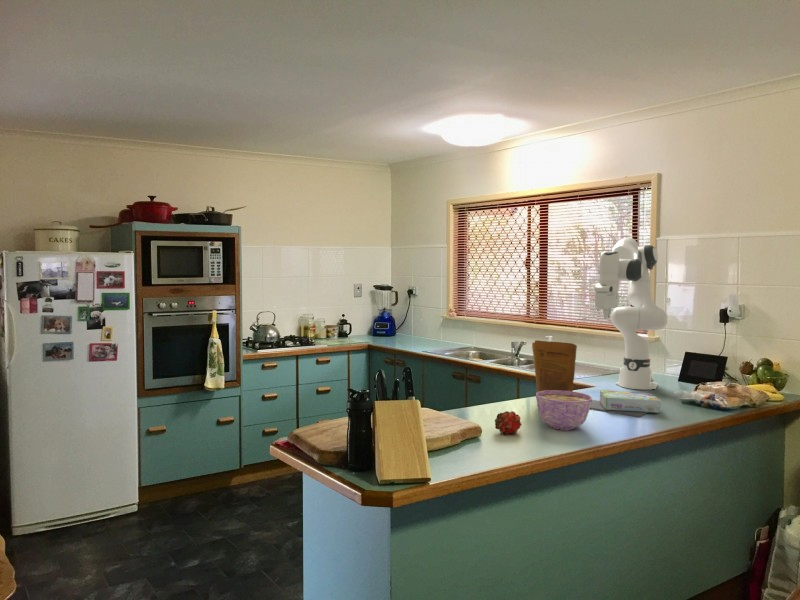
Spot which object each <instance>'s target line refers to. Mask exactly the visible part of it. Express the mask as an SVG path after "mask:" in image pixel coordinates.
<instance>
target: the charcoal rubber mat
mask: <svg viewBox="0 0 800 600" xmlns="http://www.w3.org/2000/svg"><path fill="white" fill-rule="evenodd" d="M592 409H593V411H601V412H605V411H606V412H607V413H611V412H612V413H613V414H618V415H624V416H632V417H635V418H636V417H637V418H641V417H643V416H645V415H647V414H648V413H649V412H638V411H620V410H606V409H605V408H604V406H603V405H602V404H601V403H600V400H598V399H597V400H596V399H592V402H591V405H590V409H589V410H592ZM612 413H611V414H612Z"/></svg>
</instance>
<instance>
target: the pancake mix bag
mask: <svg viewBox="0 0 800 600" xmlns="http://www.w3.org/2000/svg"><path fill="white" fill-rule="evenodd" d="M531 345H532V347H531V349H532V355H533V356H532V357H533V365H534V373H535V381H536V382H535V383H536V393H537V392H539V391H546V390H562V391H572V392H574V390H573V389H574V382H575V381H574V380H575V373H576V371H575V370H576V359H577V349H578V345H577V344H574V343H572V342H564V341H548V340H535V341H534V342H532V343H531ZM536 406H537V407H538V405H537V404H536Z"/></svg>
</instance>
